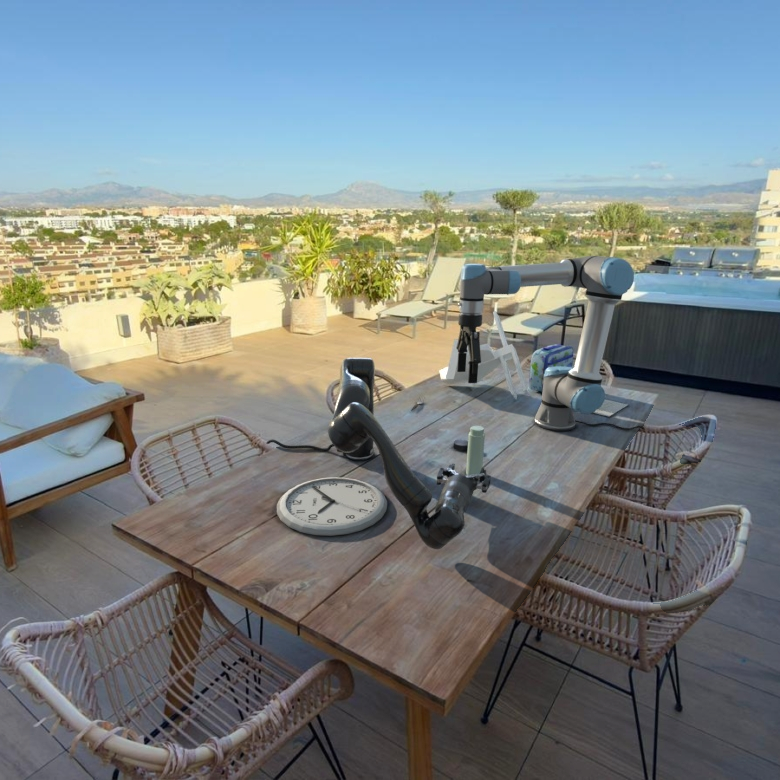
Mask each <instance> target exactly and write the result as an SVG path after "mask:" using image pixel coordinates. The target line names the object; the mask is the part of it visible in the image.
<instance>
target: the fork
mask: <svg viewBox="0 0 780 780" xmlns="http://www.w3.org/2000/svg"><path fill="white" fill-rule="evenodd" d="M424 401H425V396H421V395H420V396H419V397H418V400H417V402H416V404H415V405H414V406H413V407H412V408H411V410H410V411H411V412H413V411H414V410H415V409H417V407H418V406H419V405H422V404H423V403H424Z"/></svg>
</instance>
